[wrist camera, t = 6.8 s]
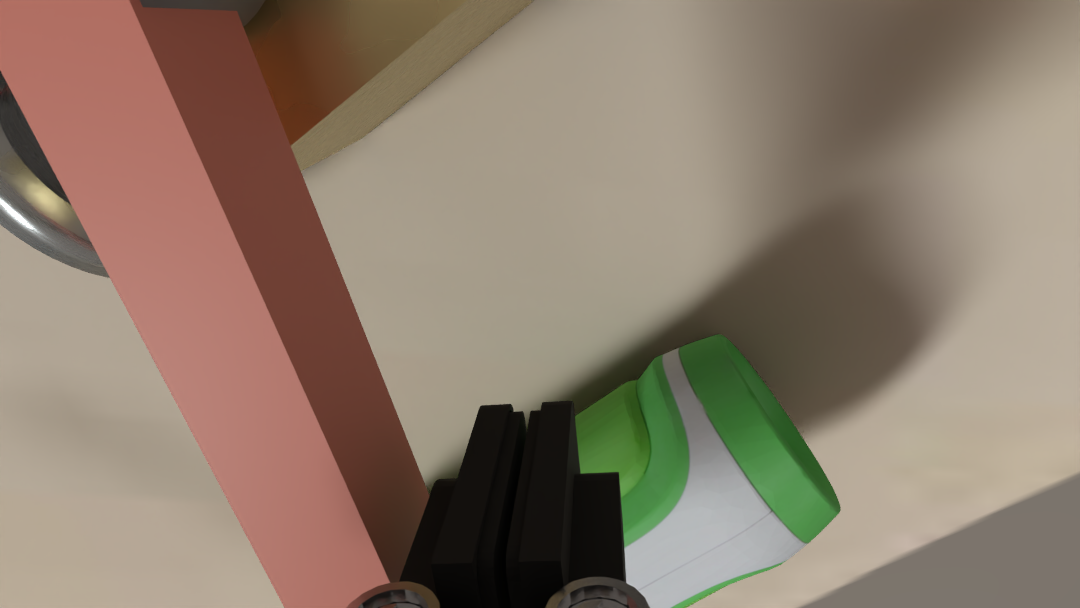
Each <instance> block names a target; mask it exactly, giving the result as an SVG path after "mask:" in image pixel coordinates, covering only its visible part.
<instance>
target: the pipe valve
mask: <svg viewBox="0 0 1080 608" xmlns="http://www.w3.org/2000/svg"><path fill="white" fill-rule="evenodd" d="M533 1H534V0H265V2H264V3H263V5H262V6H261V8H260V9H259V11H258V12H257V13H256V15H255V16H254V17H253V18H252V19H251V20H250V21H249V22H248V23H247V24H246V25H245V26H244V30H245V33H246V35H247V38H248V40H249V43H250V45H251V48H252V50H253V53H254V55H255V58H256V60H257V63H258V65H259V68H260V70H261V73H262V75H263V78H264V80H265V83H266V85H267V88H268V90H269V93H270V95H271V98H272V101H273V103H274V106H275V108H276V111H277V113H278V116H279V118H280V121H281V123H282V126H283V128H284V131H285V133H286V136H287V138H288V141H289V143H290V146H291V148H292V151H293V153H294V156H295V158H296V161H297V163H298V166H299V169H300V171H302V170H304V169H306V168H308V167H309V166H311V165H313V164H315V163H317V162H319V161H321V160H322V159H324V158H326V157H328V156H330V155H332V154H334V153H336V152H337V151H339V150H341V149H343V148H345V147H347V146H349V145H350V144H352V143H354V142H356V141H358V140H360V139H362V138H363V137H364V136H365V135H367V134H368V133H369V132H370V131H372V130H373V129H374V128H375V127H377V126H378V125H379V124H380V123H382V122H383V121H384V120H385V119H387V118H388V117H389V116H390V115H392V114H393V113H394V112H395V111H397V110H398V109H399V108H400V107H402V106H403V105H404V104H405V103H407V102H408V101H409V100H410V99H412V98H413V97H414V96H415V95H417V94H418V93H419V92H420V91H422V90H423V89H424V88H425V87H427V86H428V85H429V84H430V83H432V82H433V81H434V80H435V79H437V78H438V77H439V76H440V75H442V74H443V73H444V72H445V71H447V70H448V69H449V68H450V67H452V66H453V65H454V64H455V63H457V62H458V61H459V60H460V59H462V58H463V57H464V56H465V55H467V54H468V53H469V52H470V51H472V50H473V49H474V48H475V47H477V46H478V45H479V44H480V43H482V42H483V41H484V40H485V39H487V38H488V37H489V36H490V35H492V34H493V33H494V32H495V31H497V30H498V29H499V28H500V27H502V26H503V25H504V24H505V23H507V22H508V21H509V20H510V19H512V18H513V17H514V16H515V15H517V14H518V13H519V12H520V11H522V10H523V9H524V8H525V7H527V6H528V5H529V4H530V3H532V2H533ZM0 224H1V225H2V226H3V227H4V228H6V229H7V230H8V231H10V232H11V233H12V234H14V235H15V236H16V237H18V238H19V239H21V240H22V241H24V242H26V243H27V244H29V245H30V246H32V247H33V248H35V249H37V250H39V251H40V252H42V253H44V254H46V255H48V256H50V257H51V258H53V259H56V260H58V261H60V262H62V263H65V264H67V265H69V266H71V267H74V268H77V269H80V270H83V271H85V272H88V273H92V274H96V275H100V276H104V277H109V275H108V273H107V271H106V269H105V267H104V265H103V264H102V262H101V260H100V258H99V256H98V254H97V252H96V250H95V248H94V247H93V245H92V243H91V241H90V239H89V237H88V235H87V233H86V231H85V230H84V228H83V226H82V224H81V222H80V220H79V218H78V216H77V214H76V213H75V211H74V209H73V207H72V205H71V203H70V201H69V199H68V197H67V196H66V194H65V192H64V190H63V188H62V186H61V184H60V182H59V180H58V179H57V177H56V175H55V173H54V171H53V169H52V167H51V165H50V163H49V162H48V160H47V158H46V156H45V154H44V152H43V150H42V148H41V146H40V145H39V143H38V141H37V139H36V137H35V135H34V133H33V131H32V129H31V128H30V126H29V124H28V122H27V120H26V118H25V116H24V114H23V112H22V111H21V109H20V107H19V105H18V103H17V101H16V99H15V97H14V95H13V94H12V92H11V90H10V88H9V86H8V84H7V82H6V80H5V78H4V76H3V75H2V73H1V71H0ZM109 278H110V277H109Z"/></svg>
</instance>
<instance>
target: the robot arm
mask: <svg viewBox="0 0 1080 608" xmlns="http://www.w3.org/2000/svg"><path fill="white" fill-rule="evenodd" d="M346 608H650V607H649V605H648V603H647V601H646V599H645V597H644V596H643V595H642V594H641V593H640V592H639V591H638V590H637V589H636V588H635V587H633V586H631V585H629V584H627V583H626V568H625V550H624V533H623V518H622V505H621V491H620V479H619V472H605V473H580V463H579V453H578V443H577V433H576V423H575V413H574V405H573V401H559V402H543V403H542V406H541V410H540V411H531V413H530V418H529V424H528V429H527V431H526V424H525V417H524V413H523V411H521V412H513V407H512V405H511V404H503V405H484V406H480V408H479V411H478V414H477V417H476V421H475V424H474V427H473V430H472V433H471V437H470V440H469V443H468V446H467V449H466V453H465V456H464V459H463V462H462V465H461V469H460V472H459V475H458V478H457V479H439V480H437V481H436V482H435V484H434V486H433V488H432V491H431V494H430V496H429V499H428V502H427V505H426V507H425V510H424V513H423V516H422V519H421V521H420V524H419V527H418V530H417V532H416V535H415V538H414V541H413V543H412V546H411V549H410V552H409V555H408V557H407V560H406V563H405V566H404V568H403V571H402V574H401V577H400V580H399V582H391V583H387V584H384V585H380V586H377V587H375V588H373V589H371V590H369V591H367V592H364V593H363V594H361V595H360V596H359V597H357V598H356V599H355V600H354V601H352V602H351V603H350V604H349V605H348V606H347V607H346Z"/></svg>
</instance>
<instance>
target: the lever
mask: <svg viewBox="0 0 1080 608" xmlns="http://www.w3.org/2000/svg"><path fill="white" fill-rule="evenodd" d="M264 2H265V0H0V71H1V73H2V75H3V76H4V78H5V80H6V82H7V84H8V86H9V88H10V90H11V92H12V94H13V95H14V97H15V99H16V101H17V103H18V105H19V107H20V109H21V111H22V112H23V114H24V116H25V118H26V120H27V122H28V124H29V126H30V128H31V129H32V131H33V133H34V135H35V137H36V139H37V141H38V143H39V145H40V146H41V148H42V150H43V152H44V154H45V156H46V158H47V160H48V162H49V163H50V165H51V167H52V169H53V171H54V173H55V175H56V177H57V179H58V180H59V182H60V184H61V186H62V188H63V190H64V192H65V194H66V196H67V197H68V199H69V201H70V203H71V205H72V207H73V209H74V211H75V213H76V214H77V216H78V218H79V220H80V222H81V224H82V226H83V228H84V230H85V231H86V233H87V235H88V237H89V239H90V241H91V243H92V245H93V247H94V248H95V250H96V252H97V254H98V256H99V258H100V260H101V262H102V264H103V265H104V267H105V269H106V271H107V273H108V275H109V277H110V279H111V281H112V282H113V284H114V286H115V288H116V290H117V292H118V294H119V296H120V298H121V299H122V301H123V303H124V305H125V307H126V309H127V311H128V313H129V315H130V316H131V318H132V320H133V322H134V324H135V326H136V328H137V330H138V332H139V333H140V335H141V337H142V339H143V341H144V343H145V345H146V347H147V349H148V350H149V352H150V354H151V356H152V358H153V360H154V362H155V364H156V366H157V367H158V369H159V371H160V373H161V375H162V377H163V379H164V381H165V383H166V384H167V386H168V388H169V390H170V392H171V394H172V396H173V398H174V400H175V401H176V403H177V405H178V407H179V409H180V411H181V413H182V415H183V417H184V418H185V420H186V422H187V424H188V426H189V428H190V430H191V432H192V434H193V435H194V437H195V439H196V441H197V443H198V445H199V447H200V449H201V451H202V452H203V454H204V456H205V458H206V460H207V462H208V464H209V466H210V468H211V469H212V471H213V473H214V475H215V477H216V479H217V481H218V483H219V485H220V486H221V488H222V490H223V492H224V494H225V496H226V498H227V500H228V502H229V503H230V505H231V507H232V509H233V511H234V513H235V515H236V517H237V519H238V520H239V522H240V524H241V526H242V528H243V530H244V532H245V534H246V536H247V537H248V539H249V541H250V543H251V545H252V547H253V549H254V551H255V553H256V554H257V556H258V558H259V560H260V562H261V564H262V566H263V568H264V570H265V571H266V573H267V575H268V577H269V579H270V581H271V583H272V585H273V587H274V588H275V590H276V592H277V594H278V596H279V598H280V600H281V602H282V604H283V605H284V607H285V608H346V607H347V606H348V605H349V604H350V603H351V602H352V601H354V600H355V599H356V598H357V597H359V596H360V595H361V594H363V593H364V592H367V591H369V590H371V589H373V588H375V587H377V586H380V585H384V584H387V583H391V582H399V580H400V577H401V574H402V571H403V568H404V566H405V563H406V560H407V557H408V555H409V552H410V549H411V546H412V543H413V541H414V538H415V535H416V532H417V530H418V527H419V524H420V521H421V519H422V516H423V513H424V510H425V507H426V505H427V502H428V499H429V493H428V491H427V488H426V486H425V483H424V481H423V478H422V476H421V473H420V471H419V468H418V466H417V463H416V461H415V458H414V456H413V453H412V451H411V448H410V446H409V443H408V440H407V438H406V435H405V433H404V430H403V428H402V425H401V423H400V420H399V418H398V415H397V413H396V410H395V408H394V405H393V403H392V400H391V398H390V395H389V393H388V390H387V388H386V385H385V383H384V380H383V378H382V375H381V372H380V370H379V367H378V365H377V362H376V360H375V357H374V355H373V352H372V350H371V347H370V345H369V342H368V340H367V337H366V335H365V332H364V330H363V327H362V325H361V322H360V320H359V317H358V315H357V312H356V310H355V307H354V304H353V302H352V299H351V297H350V294H349V292H348V289H347V287H346V284H345V282H344V279H343V277H342V274H341V272H340V269H339V267H338V264H337V262H336V259H335V257H334V254H333V252H332V249H331V247H330V244H329V242H328V239H327V236H326V234H325V231H324V229H323V226H322V224H321V221H320V219H319V216H318V214H317V211H316V209H315V206H314V204H313V201H312V199H311V196H310V194H309V191H308V189H307V186H306V184H305V181H304V179H303V176H302V174H301V171H300V169H299V166H298V163H297V161H296V158H295V156H294V153H293V151H292V148H291V146H290V143H289V141H288V138H287V136H286V133H285V131H284V128H283V126H282V123H281V121H280V118H279V116H278V113H277V111H276V108H275V106H274V103H273V101H272V98H271V95H270V93H269V90H268V88H267V85H266V83H265V80H264V78H263V75H262V73H261V70H260V68H259V65H258V63H257V60H256V58H255V55H254V53H253V50H252V48H251V45H250V43H249V40H248V38H247V35H246V33H245V30H244V26H245V25H246V24H247V23H248V22H249V21H250V20H251V19H252V18H253V17H254V16H255V15H256V13H257V12H258V11H259V9H260V8H261V6H262V5H263V3H264Z"/></svg>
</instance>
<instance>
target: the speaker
mask: <svg viewBox="0 0 1080 608" xmlns="http://www.w3.org/2000/svg"><path fill="white" fill-rule="evenodd" d="M575 423H576V433H577V443H578V453H579V463H580V473H605V472H619V479H620V491H621V505H622V518H623V533H624V550H625V568H626V583H627V584H629V585H631V586H633V587H635V588H636V589H637V590H638V591H639V592H640V593H641V594H642V595H643V596H644V597H645V599H646V601H647V603H648V605H649V607H650V608H686V607H688V606H690V605H692V604H694V603H695V602H697V601H699V600H701V599H703V598H705V597H707V596H708V595H710V594H712V593H714V592H716V591H718V590H720V589H721V588H723V587H725V586H727V585H729V584H732V583H734V582H737V581H739V580H742V579H745V578H747V577H750V576H753V575H755V574H758V573H761V572H764V571H767V570H770V569H772V568H774V567H777V566H779V565H781V564H782V563H783V562H785V561H786V560H788V559H789V558H790V557H792V556H793V555H795V554H796V553H797V552H798V551H799V550H801V549H802V548H803V547H804V546H806V545H807V544H808V543H809V542H810V541H811V540H812V539H813V538H815V537H816V536H817V535H818V534H819V533H820V532H821V531H822V530H823V529H824V528H825V527H826V526H827V525H828V524H829V523H830V522H831V521H832V520H833V519H834V518H835V517H836V516H837V514H838V513H839V512H840V504H839V501H838V499H837V496H836V494H835V492H834V490H833V488H832V486H831V484H830V482H829V480H828V478H827V477H826V475H825V473H824V472H823V470H822V468H821V466H820V465H819V463H818V461H817V460H816V458H815V457H814V455H813V453H812V452H811V450H810V449H809V447H808V446H807V444H806V443H805V441H804V440H803V438H802V436H801V435H800V433H799V432H798V430H797V429H796V427H795V426H794V424H793V423H792V421H791V420H790V418H789V417H788V415H787V414H786V413H785V411H784V410H783V408H782V407H781V406H780V404H779V403H778V401H777V400H776V398H775V397H774V395H773V394H772V392H771V391H770V390H769V388H768V387H767V386H766V384H765V383H764V382H763V380H762V379H761V378H760V376H759V375H758V374H757V373H756V371H755V370H754V369H753V367H752V366H751V365H750V364H749V362H748V361H747V360H746V358H745V357H744V356H743V355H742V354H741V353H740V351H739V350H738V349H737V348H736V347H735V346H734V345H733V344H732V343H731V342H730V341H729V340H728V339H727V338H726V337H724V336H723V335H721V334H717V335H714V336H711V337H708V338H704V339H701V340H698V341H695V342H692V343H689V344H687V345H684V346H682V347H680V348H677V349H675V350H672V351H670V352H668V353H665V354H663V355H660V356H657V357H656V358H654V360H653V361H652V362H651V363H650V365H649V366H648V368H647V369H646V370H645V371H644V373H643V374H642V375H641V377H640V378H639V379H638V380H634V381H628V382H626V383H624V384H623V385H621V386H620V387H618V388H617V389H615V390H614V391H612V392H611V393H609V394H608V395H606V396H605V397H603V398H602V399H600V400H599V401H597V402H596V403H594V404H593V405H591V406H590V407H588V408H587V409H585V410H584V411H582V412H581V413H579V414H578V415H576V416H575Z"/></svg>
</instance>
